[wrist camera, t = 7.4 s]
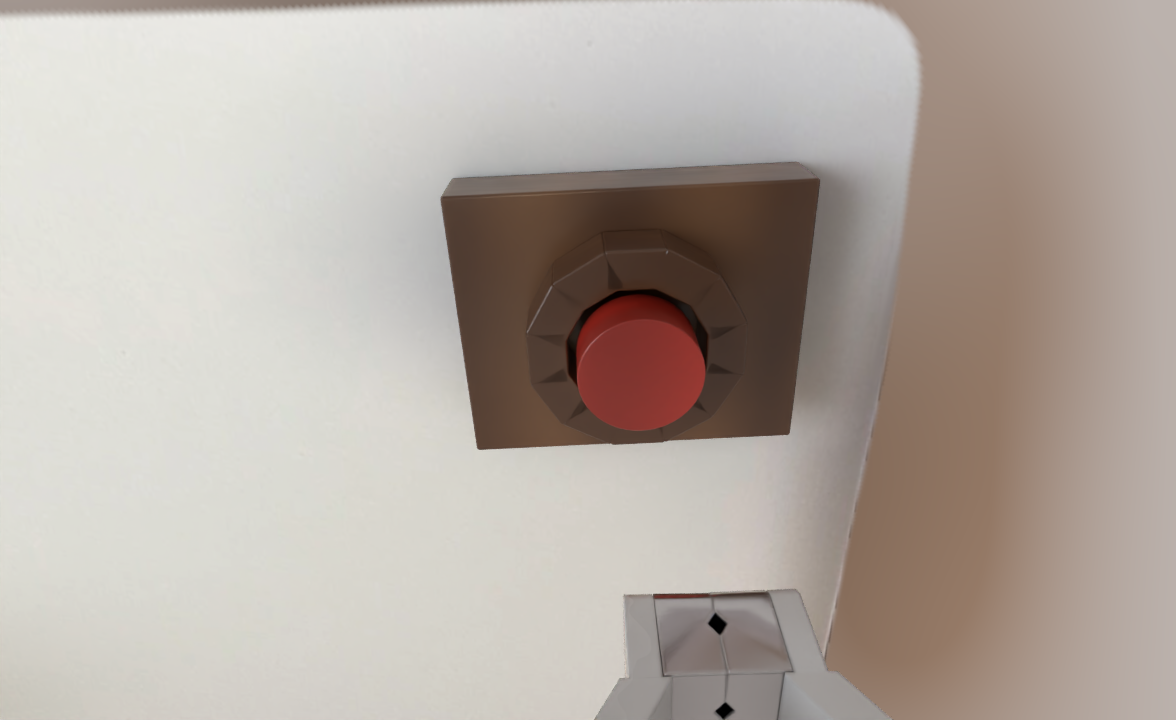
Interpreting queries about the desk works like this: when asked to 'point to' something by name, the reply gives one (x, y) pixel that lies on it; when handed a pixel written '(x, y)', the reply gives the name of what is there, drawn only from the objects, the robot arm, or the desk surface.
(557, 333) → the release housing
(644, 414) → the release button
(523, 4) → the desk surface
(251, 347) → the desk surface
